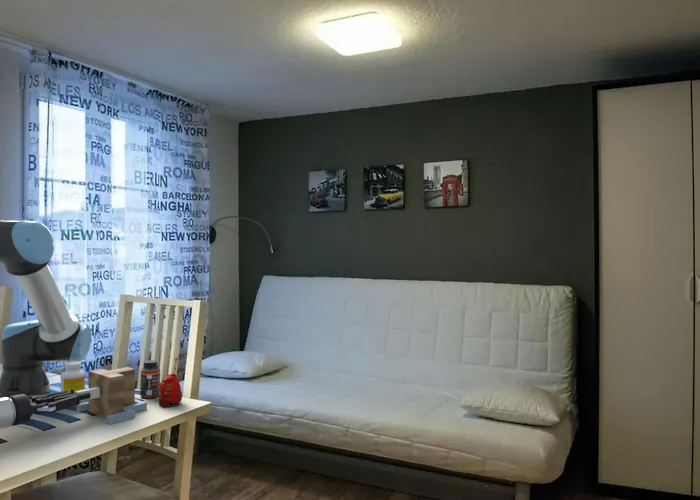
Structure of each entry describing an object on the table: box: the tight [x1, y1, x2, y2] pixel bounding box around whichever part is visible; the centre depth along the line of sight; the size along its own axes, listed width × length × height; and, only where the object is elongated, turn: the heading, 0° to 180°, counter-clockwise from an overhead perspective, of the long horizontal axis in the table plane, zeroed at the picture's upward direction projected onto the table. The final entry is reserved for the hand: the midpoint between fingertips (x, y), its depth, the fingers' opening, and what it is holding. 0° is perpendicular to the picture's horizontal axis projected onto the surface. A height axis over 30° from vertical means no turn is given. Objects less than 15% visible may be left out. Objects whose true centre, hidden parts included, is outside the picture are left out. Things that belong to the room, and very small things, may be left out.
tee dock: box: [76, 398, 148, 425], centre depth 167 cm, size 18×14×2 cm
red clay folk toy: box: [157, 354, 183, 408], centre depth 175 cm, size 8×7×15 cm
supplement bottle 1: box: [60, 361, 86, 408], centre depth 173 cm, size 7×7×13 cm
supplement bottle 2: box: [139, 359, 161, 399], centre depth 183 cm, size 6×6×11 cm
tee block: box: [87, 366, 136, 420], centre depth 167 cm, size 12×10×12 cm
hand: (98, 391), depth 163 cm, fingers closed
